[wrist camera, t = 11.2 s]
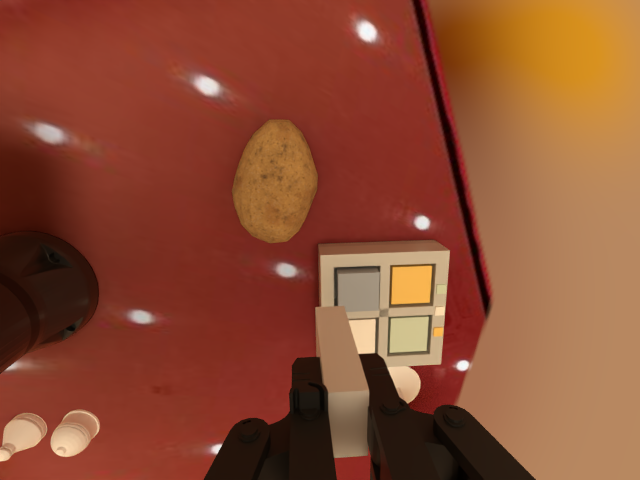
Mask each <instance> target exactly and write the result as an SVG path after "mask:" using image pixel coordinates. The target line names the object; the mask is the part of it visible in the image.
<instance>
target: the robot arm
mask: <svg viewBox="0 0 640 480" xmlns="http://www.w3.org/2000/svg"><path fill="white" fill-rule="evenodd" d="M97 302H98V285H97V281H96V277H95V275H94V272H93V270H92V268H91V267H90V265H89V264H88V262H87V261H86V259H85V258H84V257H83V256H82V255H81V254H80V253H79V252H78V251H77V250H76V249H75V248H73V247H72V246H71V245H69V244H68V243H66V242H64V241H63V240H61V239H59V238H57V237H54V236H51V235H49V234H45V233H41V232H34V231H20V232H14V233H10V234H6V235H3V236H0V373H2V372H3V371H4V370H5V369H7V368H8V367H9V366H10V365H12V364H13V363H14V362H16V361H17V360H18V359H19V358H21V357H22V356H23V355H25V354H26V353H29V352H32V351H35V350H38V349H41V348H44V347H47V346H50V345H53V344H56V343H59V342H61V341H63V340H65V339H67V338H69V337H70V336H72V335H73V334H74V333H76V332H77V331H78V330H79V329H80V328H82V327H83V326H84V325H85V324H86V323H87V322H88V321H89V320H90V318H91V317H92V315H93V313H94V311H95V309H96V306H97ZM315 316H316V355H317V357H306V358H297V359H296V360H295V362H294V363H293V365H292V388H291V389H290V393H289V399H290V412H289V413H288V415H287V416H286V417H285V418H283V419H282V420H280V421H278V422H276V423H273V424H270V425H268V424H267V423H266V422H265V421H264V420H262V419H258V418H248V419H245V420H241V421H240V422H238V423H237V424H235V425H234V426H233V428H232V429H231V430H230V432H229V434H228V435H227V437H226V439H225V441H224V443H223V445H222V447H221V448H220V450H219V452H218V454H217V456H216V458H215V460H214V461H213V463H212V465H211V467H210V469H209V471H208V473H207V474H206V476H205V478H204V480H337V478H336V470H335V462H334V458H339V457H354V456H368V446H369V450H370V455H371V468H370V480H536V479H534V477H533V476H531V474H530V473H529V472H528V471H526V470H525V468H524V467H523V466H522V465H521V464H520V463H519V462H518V461H517V460H516V459H514V457H513V456H512V455H511V454H510V453H509V452H508V451H507V450H506V449H505V448H504V447H503V446H502V445H501V444H500V443H499V442H498V441H497V440H496V439H495V438H494V437H493V436H492V435H491V434H490V433H489V432H488V431H487V430H486V429H485V428H484V427H483V426H482V425H481V424H480V423H479V422H478V421H477V420H476V419H475V418H474V417H473V416H472V415H471V414H470V413H469V412H467V411H466V410H465V409H463V408H460V407H458V406H454V405H442V406H440V407H438V408H436V410H435V411H434V415H432V414H426V413H421V412H417V411H415V410H412V409H410V407H409V405H408V404H407V403H406V401H404V400H403V399H402V398H400V397H399V395H398V392H397V390H396V387H395V385H394V382H393V380H392V377H391V375H390V373H389V370H388V369H387V365H386V363H385V360H384V359H383V358H382V357H381V356H380V355H378V354H377V353H366V354H358V351H357V347H356V344H355V341H354V337H353V334H352V331H351V327H350V324H349V320H348V317H347V314H346V310H345V307H344V306H331V307H315Z"/></svg>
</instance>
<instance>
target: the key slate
mask: <svg viewBox="0 0 640 480" xmlns="http://www.w3.org/2000/svg"><path fill="white" fill-rule="evenodd" d="M379 281H380V272H379V271H378V269H377V267H376V266H356V267H336V305H337V306H344V307H345V310H346V312H358V311H379Z"/></svg>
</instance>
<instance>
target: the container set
mask: <svg viewBox="0 0 640 480" xmlns="http://www.w3.org/2000/svg"><path fill="white" fill-rule="evenodd" d="M99 429H100V422H99V420H98V418H97V417H96V416H95V415H94V414H93V413H91V412H89V411H87V410H80V409H78V410H73V411H71V412H69V413H68V414H66V415H65V417H64V418H63V420H62V422H61V423H60V425H58V426H57V428H56V429H55V430H54V432H53V434H52V437H51V447H52V450H53V451H54V452H55V453H56V454H57V455H59V456H64V457H69V456H73V455H76V454H78V453H80V452H81V451H82V450H84V449H85V448H86V447H87V446H88V444H89V443H90V441H91V439H92V438H93V437H94V436H96V434H97V433H98V432H99ZM46 432H47V425H46V423H45V421H44V420H43V419H42V418H40V417H39V416H37V415H35V414H31V413H22V414H19V415H17V416H16V417H14V418H13V419H12V420H11V421H10V422H9V423H8V424H7V425H6V427H5V429H4V435H3V444H2V447H1V448H0V461H6V460H8V459H9V458H10V457H11V456H12V455H13V454H14V453H15V452H18V451H21V450H25V449H28V448H31V447H34V446H36V445H37V444H38V443H39V442H40V440H41V439H42V438H43V437H44V436H45V434H46Z"/></svg>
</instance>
